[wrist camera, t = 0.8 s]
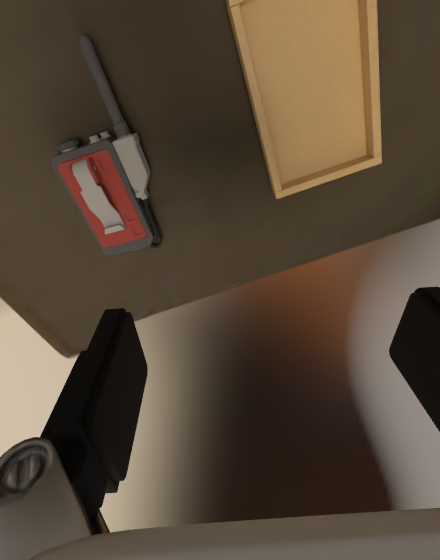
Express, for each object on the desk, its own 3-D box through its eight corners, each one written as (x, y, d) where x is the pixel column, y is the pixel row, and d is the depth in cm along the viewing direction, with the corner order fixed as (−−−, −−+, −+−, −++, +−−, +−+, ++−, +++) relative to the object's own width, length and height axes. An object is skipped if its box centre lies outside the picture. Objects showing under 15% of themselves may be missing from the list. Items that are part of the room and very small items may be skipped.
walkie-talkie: (179, 236, 36) (98, 32, 25) (175, 253, 32) (79, 23, 21) (114, 254, 37) (9, 66, 26) (103, 272, 33) (-24, 63, 22)
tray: (225, 0, 24) (226, -6, 22) (361, -65, 22) (374, -77, 21) (273, 193, 33) (276, 199, 32) (372, 158, 31) (382, 163, 30)
